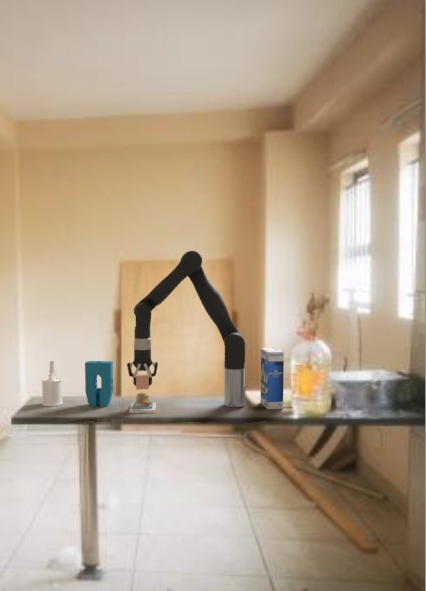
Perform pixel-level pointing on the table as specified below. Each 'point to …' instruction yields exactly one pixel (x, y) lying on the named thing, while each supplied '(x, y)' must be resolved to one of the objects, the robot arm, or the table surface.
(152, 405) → the blueprint baseplate
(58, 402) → the white nozzle bottle
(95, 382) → the block
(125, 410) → the table surface
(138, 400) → the maple block
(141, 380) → the terracotta block
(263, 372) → the string lights box
